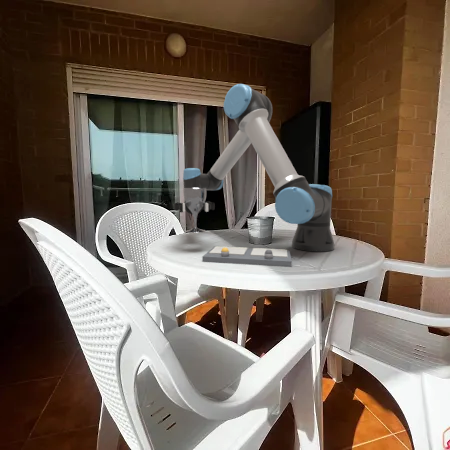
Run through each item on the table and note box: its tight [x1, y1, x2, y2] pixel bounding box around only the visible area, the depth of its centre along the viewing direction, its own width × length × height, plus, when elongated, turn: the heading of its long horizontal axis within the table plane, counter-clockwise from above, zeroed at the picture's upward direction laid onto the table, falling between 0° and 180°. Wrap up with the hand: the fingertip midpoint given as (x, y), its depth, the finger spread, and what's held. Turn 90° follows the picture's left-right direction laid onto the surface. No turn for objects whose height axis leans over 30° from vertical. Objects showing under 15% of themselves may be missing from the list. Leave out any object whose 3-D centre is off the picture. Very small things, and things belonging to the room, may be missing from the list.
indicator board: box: [201, 245, 293, 268], centre depth 85 cm, size 26×15×4 cm, turn 79°
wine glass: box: [182, 187, 207, 234], centre depth 94 cm, size 8×8×15 cm
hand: (195, 207), depth 89 cm, fingers closed on wine glass, 7 cm apart
